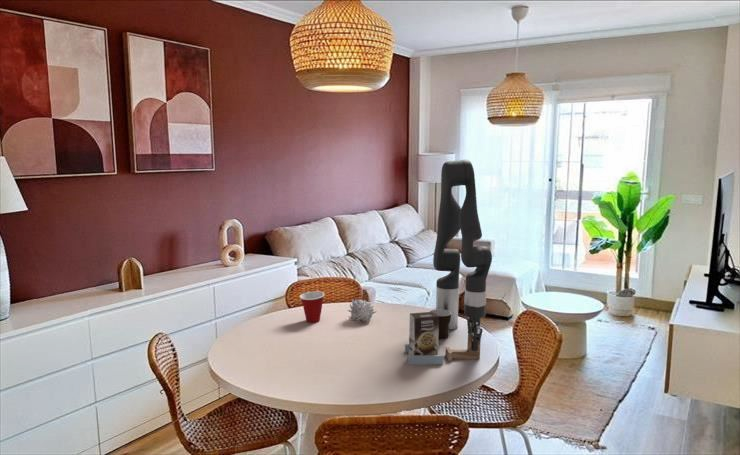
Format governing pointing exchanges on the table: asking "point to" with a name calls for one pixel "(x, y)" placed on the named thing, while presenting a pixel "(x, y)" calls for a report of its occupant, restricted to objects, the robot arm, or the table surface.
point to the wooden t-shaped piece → (463, 351)
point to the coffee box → (423, 333)
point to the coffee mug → (443, 322)
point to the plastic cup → (312, 305)
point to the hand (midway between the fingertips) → (473, 349)
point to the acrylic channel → (423, 358)
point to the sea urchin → (361, 310)
